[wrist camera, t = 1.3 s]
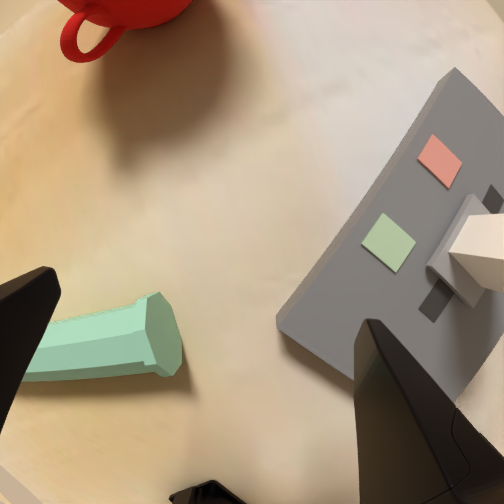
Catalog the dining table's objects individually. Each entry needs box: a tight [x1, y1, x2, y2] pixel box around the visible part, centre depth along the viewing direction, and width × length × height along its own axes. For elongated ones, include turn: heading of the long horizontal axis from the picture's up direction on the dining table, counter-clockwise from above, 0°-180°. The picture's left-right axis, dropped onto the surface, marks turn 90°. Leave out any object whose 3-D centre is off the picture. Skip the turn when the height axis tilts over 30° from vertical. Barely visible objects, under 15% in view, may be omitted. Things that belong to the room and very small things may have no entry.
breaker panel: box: [276, 67, 504, 402], centre depth 20 cm, size 24×16×3 cm, turn 143°
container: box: [21, 292, 182, 382], centre depth 21 cm, size 6×6×25 cm
